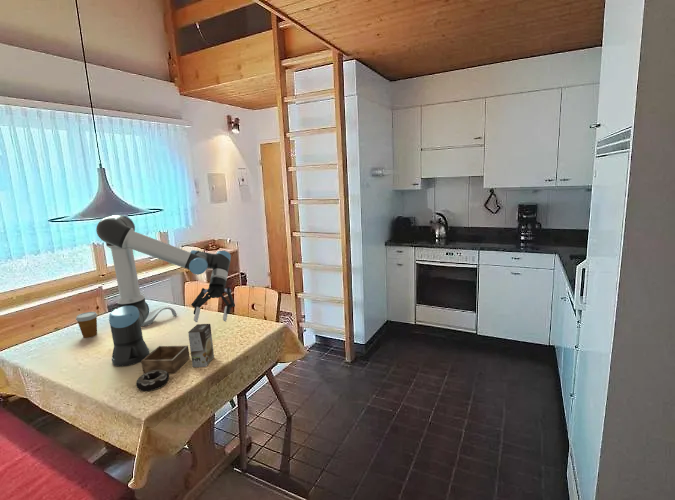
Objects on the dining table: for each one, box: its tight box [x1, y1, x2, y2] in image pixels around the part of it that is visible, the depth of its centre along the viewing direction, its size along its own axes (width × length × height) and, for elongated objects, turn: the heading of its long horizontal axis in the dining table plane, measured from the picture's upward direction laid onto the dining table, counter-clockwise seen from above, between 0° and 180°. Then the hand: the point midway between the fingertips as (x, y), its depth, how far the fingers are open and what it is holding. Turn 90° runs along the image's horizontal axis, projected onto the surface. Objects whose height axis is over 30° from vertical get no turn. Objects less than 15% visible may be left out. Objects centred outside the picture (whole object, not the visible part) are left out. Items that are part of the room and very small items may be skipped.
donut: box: [135, 370, 170, 392], centre depth 144 cm, size 12×12×4 cm
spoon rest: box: [141, 305, 178, 327], centre depth 213 cm, size 24×12×7 cm, turn 138°
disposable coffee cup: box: [75, 311, 98, 339], centre depth 195 cm, size 10×10×12 cm
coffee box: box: [187, 323, 215, 368], centre depth 160 cm, size 9×6×16 cm
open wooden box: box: [141, 345, 191, 375], centre depth 159 cm, size 14×14×6 cm
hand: (209, 320), depth 167 cm, fingers open, 13 cm apart
